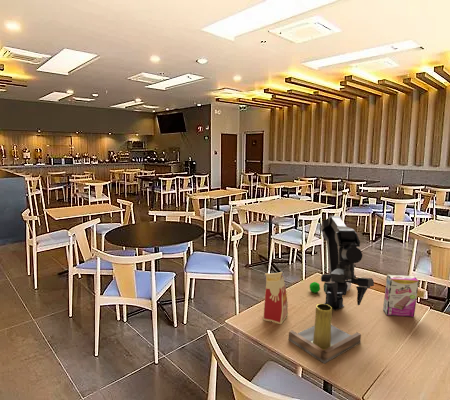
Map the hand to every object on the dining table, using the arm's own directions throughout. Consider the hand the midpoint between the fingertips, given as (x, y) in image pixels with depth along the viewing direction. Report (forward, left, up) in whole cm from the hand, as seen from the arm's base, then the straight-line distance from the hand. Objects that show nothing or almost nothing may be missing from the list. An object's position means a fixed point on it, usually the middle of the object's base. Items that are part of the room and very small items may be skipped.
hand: (346, 303), depth 127 cm
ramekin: (-24, +30, -11) cm, 40 cm away
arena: (+1, -13, -11) cm, 17 cm away
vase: (+2, -17, -10) cm, 20 cm away
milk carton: (-22, -16, -11) cm, 30 cm away
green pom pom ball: (-28, +16, -11) cm, 35 cm away
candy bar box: (+6, +29, -11) cm, 32 cm away
